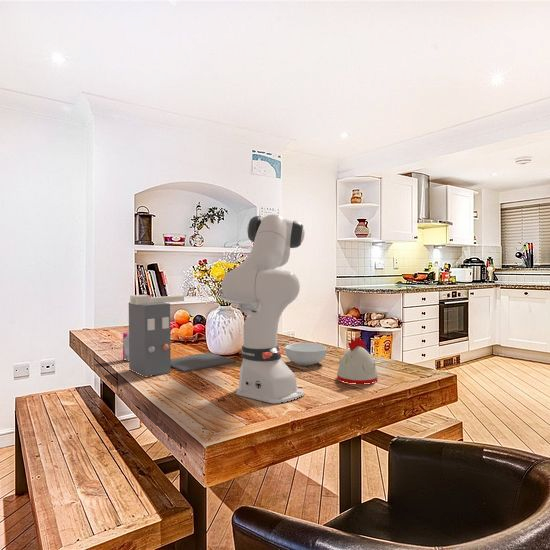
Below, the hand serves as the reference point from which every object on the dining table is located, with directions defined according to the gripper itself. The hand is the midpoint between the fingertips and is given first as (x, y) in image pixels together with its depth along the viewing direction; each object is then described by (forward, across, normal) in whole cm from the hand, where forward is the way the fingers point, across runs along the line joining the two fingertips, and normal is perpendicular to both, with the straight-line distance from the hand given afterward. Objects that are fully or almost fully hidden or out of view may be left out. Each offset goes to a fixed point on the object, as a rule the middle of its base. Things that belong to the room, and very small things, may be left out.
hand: (225, 291), depth 178 cm
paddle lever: (+25, -3, +15) cm, 30 cm away
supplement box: (+15, -26, +39) cm, 49 cm away
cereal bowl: (-30, +29, +18) cm, 45 cm away
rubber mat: (-1, -3, +31) cm, 31 cm away
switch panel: (+18, -3, +40) cm, 44 cm away
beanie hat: (-26, +57, +19) cm, 66 cm away
